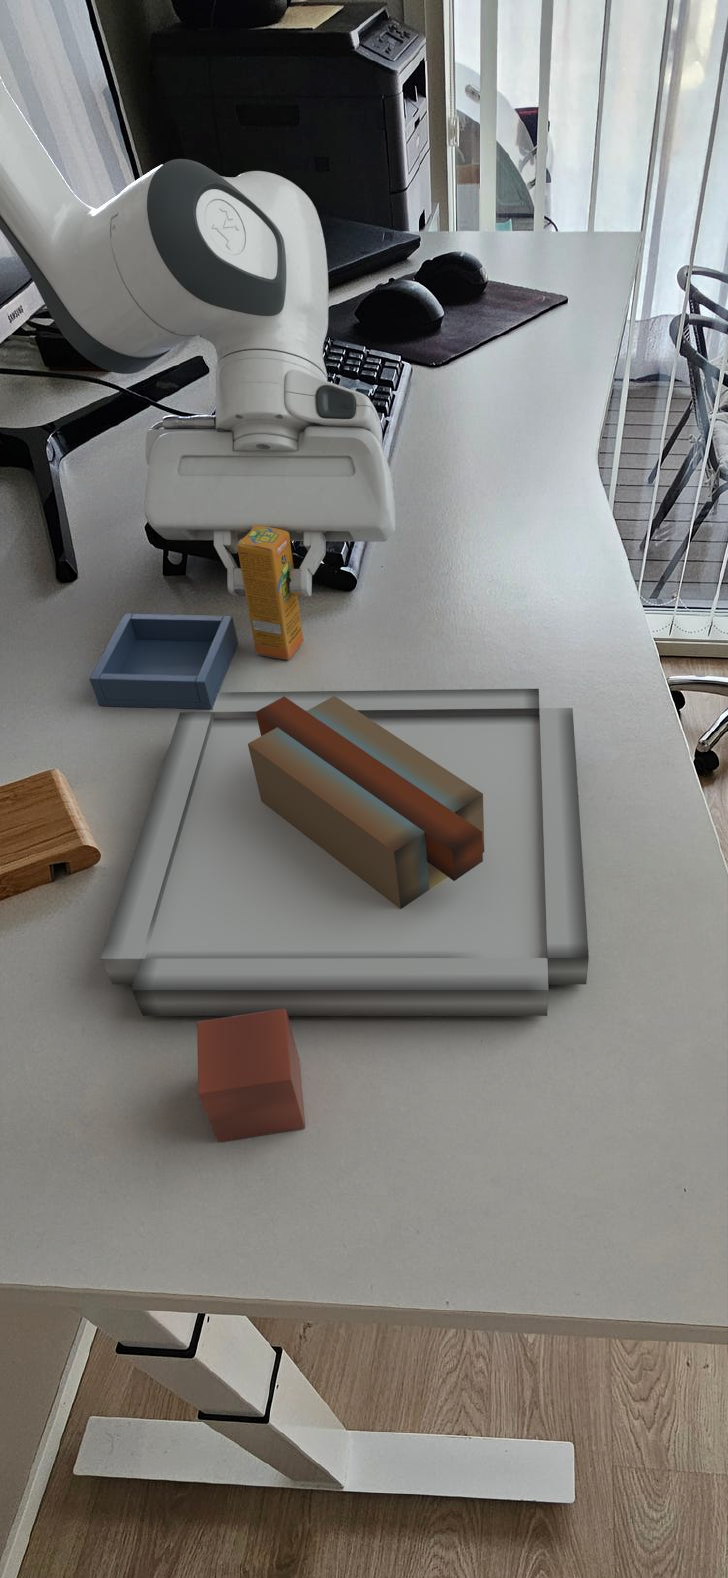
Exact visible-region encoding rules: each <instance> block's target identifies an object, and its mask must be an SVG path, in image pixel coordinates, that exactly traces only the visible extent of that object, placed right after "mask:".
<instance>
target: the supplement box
mask: <svg viewBox="0 0 728 1578" xmlns="http://www.w3.org/2000/svg"><path fill="white" fill-rule="evenodd" d="M237 548H238V552H237V554H238V559H239V566H240V568H241V571H242V577H243V583H244V588H245V594H246V596H245V598H246V604H247V609H248V615H249V621H250V626H251V631H252V638H253V642H254V647H255V652H256V654H257V655H259V656H262V657H263V656H264V657H268V658H274V659H280V660H285V661H288V660H290V659H292V658H293V656H294V655H295V653H296V652H297V651H298V649H299V648H300V647H301V645H302V644H303V642H304V635H303V626H302V619H301V611H300V605H299V598H298V597H299V596H293V594H291V593H290V588H289V583H290V582H291V579H290V577H289V576H290V569H295V568H294V560H293V553H292V544H291V541H290V537H289V532H287V531H284V530H281V529H277V528H271V527H266V526H253V527H252V530H251V531H250V532H249V533H248V534H247V535H246V536H245V537H244V538H243V539H241V540H240V541H239V540H238V544H237Z"/></svg>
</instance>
